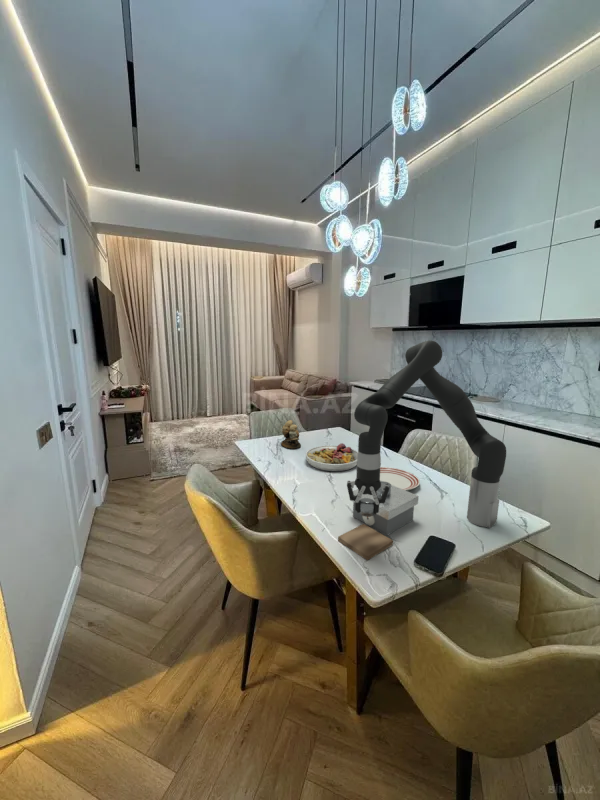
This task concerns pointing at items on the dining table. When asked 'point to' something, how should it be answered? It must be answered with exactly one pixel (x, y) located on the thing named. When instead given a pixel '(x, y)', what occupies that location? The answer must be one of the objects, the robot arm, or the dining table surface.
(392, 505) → the pan
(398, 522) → the scale
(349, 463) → the bowl
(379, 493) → the cylinder
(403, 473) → the dinner plate
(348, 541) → the walnut board
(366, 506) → the cylinder
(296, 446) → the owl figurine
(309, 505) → the dining table surface
